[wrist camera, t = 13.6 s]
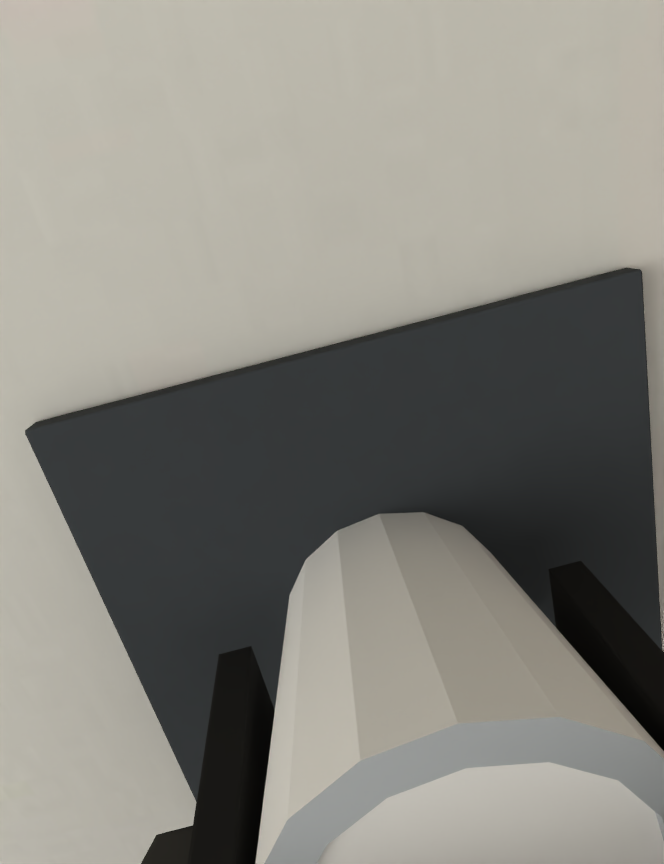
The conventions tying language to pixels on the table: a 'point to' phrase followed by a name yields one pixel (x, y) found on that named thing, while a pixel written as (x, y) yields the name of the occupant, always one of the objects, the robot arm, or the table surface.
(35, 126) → the table surface
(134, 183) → the table surface
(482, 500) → the drying mat
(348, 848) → the white grey-rimmed cylinder
